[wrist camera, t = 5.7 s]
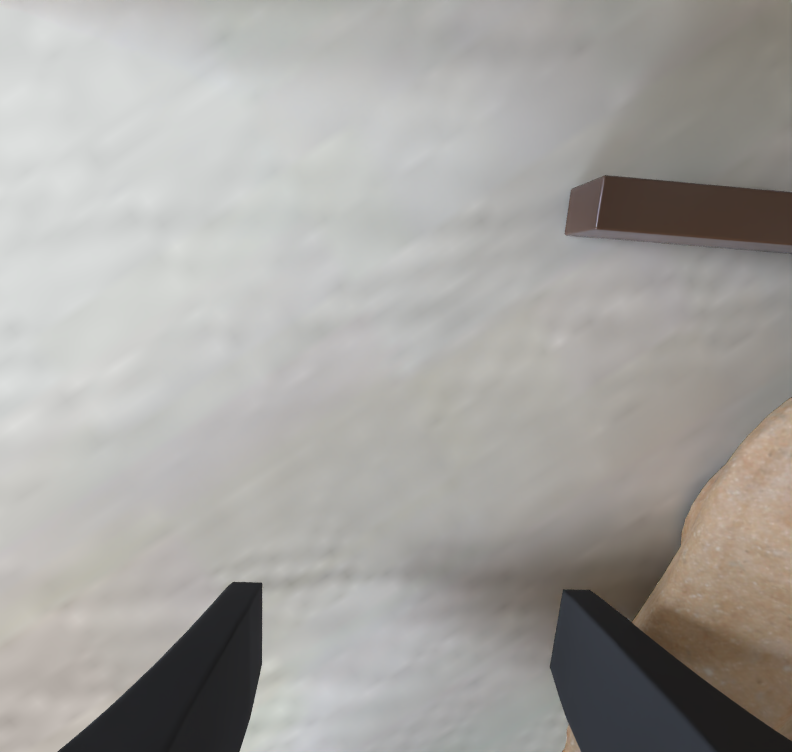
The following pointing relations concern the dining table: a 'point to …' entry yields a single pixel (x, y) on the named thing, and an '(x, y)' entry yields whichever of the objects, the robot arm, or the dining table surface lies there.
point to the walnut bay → (681, 214)
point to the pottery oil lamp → (735, 580)
